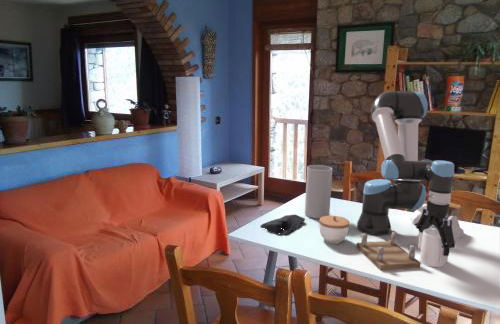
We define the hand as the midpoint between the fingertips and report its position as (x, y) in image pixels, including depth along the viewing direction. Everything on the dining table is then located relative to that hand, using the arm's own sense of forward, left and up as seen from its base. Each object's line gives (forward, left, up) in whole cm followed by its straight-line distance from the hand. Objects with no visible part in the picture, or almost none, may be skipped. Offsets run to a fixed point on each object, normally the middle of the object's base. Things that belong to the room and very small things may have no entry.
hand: (431, 255), depth 147 cm
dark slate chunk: (-43, -48, -3) cm, 64 cm away
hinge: (-21, +24, -3) cm, 32 cm away
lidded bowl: (-23, -31, -2) cm, 39 cm away
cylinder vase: (-55, -27, -2) cm, 61 cm away
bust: (-39, +20, -2) cm, 44 cm away
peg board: (-5, -16, -2) cm, 17 cm away
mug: (0, 0, -2) cm, 2 cm away
